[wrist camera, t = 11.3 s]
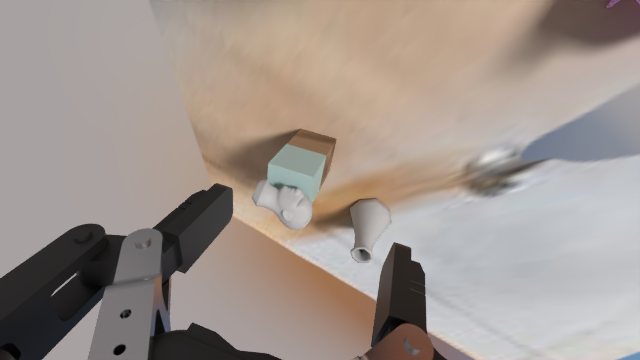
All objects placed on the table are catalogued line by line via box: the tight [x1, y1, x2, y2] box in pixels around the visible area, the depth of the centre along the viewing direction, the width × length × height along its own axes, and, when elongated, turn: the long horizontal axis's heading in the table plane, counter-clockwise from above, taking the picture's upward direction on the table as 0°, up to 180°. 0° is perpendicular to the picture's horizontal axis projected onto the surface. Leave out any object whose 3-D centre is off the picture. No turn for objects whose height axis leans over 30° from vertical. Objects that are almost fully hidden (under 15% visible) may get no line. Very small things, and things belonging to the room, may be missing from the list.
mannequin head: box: [252, 179, 312, 230], centre depth 35 cm, size 4×8×5 cm
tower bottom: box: [287, 129, 336, 190], centre depth 44 cm, size 6×6×6 cm
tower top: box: [267, 144, 326, 205], centre depth 39 cm, size 6×6×6 cm
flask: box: [349, 199, 392, 263], centre depth 45 cm, size 7×7×10 cm
